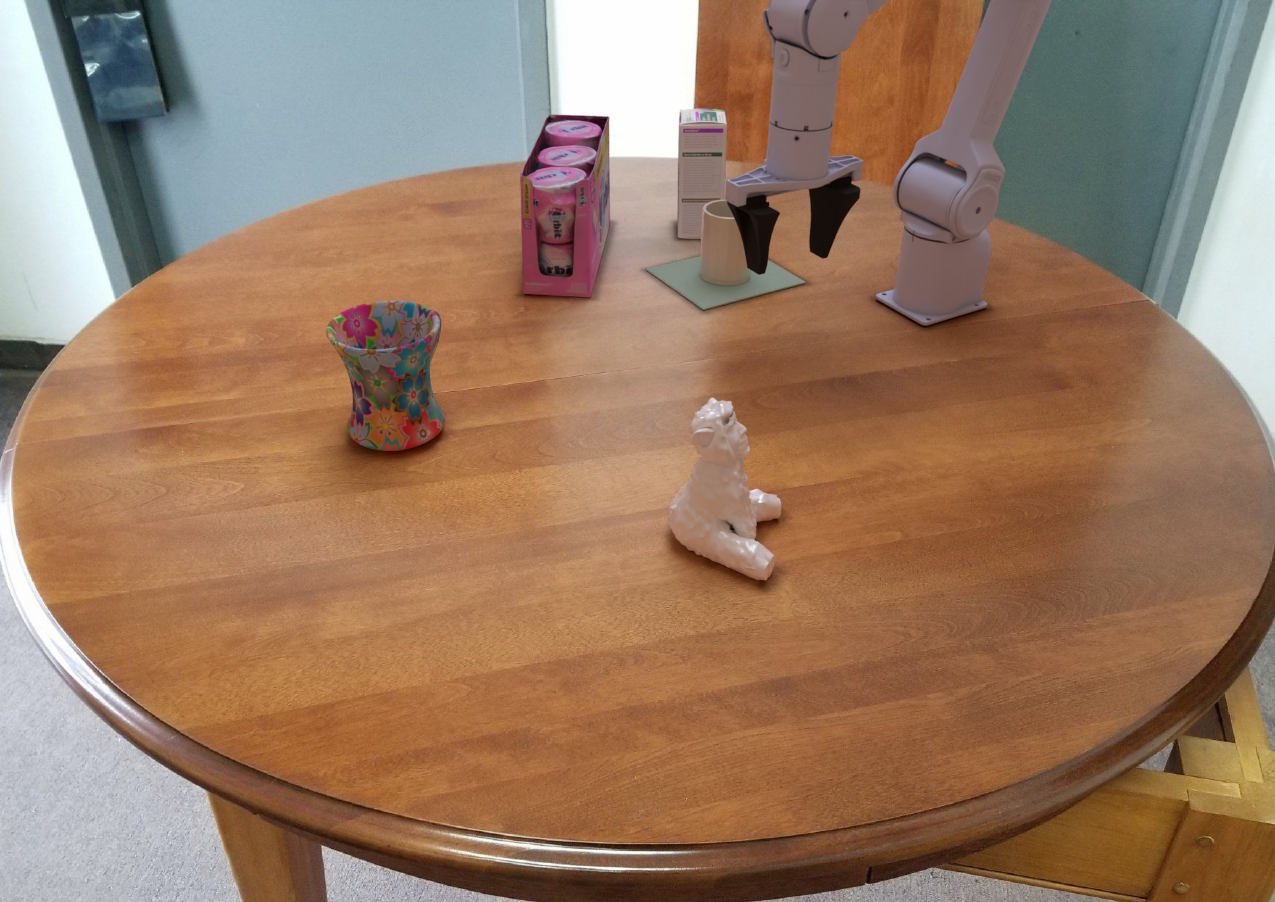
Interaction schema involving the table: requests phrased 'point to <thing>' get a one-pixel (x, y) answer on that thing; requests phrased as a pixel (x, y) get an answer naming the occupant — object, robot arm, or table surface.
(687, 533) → the seated beast figurine
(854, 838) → the table surface
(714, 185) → the syrup box
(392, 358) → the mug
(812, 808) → the table surface
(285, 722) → the table surface
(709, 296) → the mat
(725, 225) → the cup
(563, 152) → the gum box
